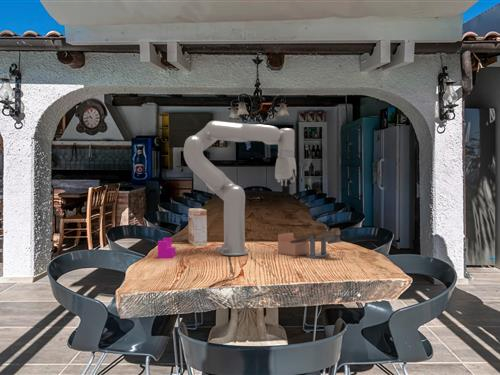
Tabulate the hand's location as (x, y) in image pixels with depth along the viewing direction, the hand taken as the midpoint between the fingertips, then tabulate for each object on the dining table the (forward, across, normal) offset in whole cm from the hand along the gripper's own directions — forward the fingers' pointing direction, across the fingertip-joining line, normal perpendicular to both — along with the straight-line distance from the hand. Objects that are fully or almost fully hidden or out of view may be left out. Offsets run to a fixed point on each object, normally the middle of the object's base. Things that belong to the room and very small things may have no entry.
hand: (285, 194), depth 219 cm
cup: (+27, +4, +1) cm, 27 cm away
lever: (+18, +18, +2) cm, 26 cm away
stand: (+27, +18, +2) cm, 33 cm away
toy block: (+28, -31, -44) cm, 61 cm away
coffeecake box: (+28, -47, -17) cm, 57 cm away
